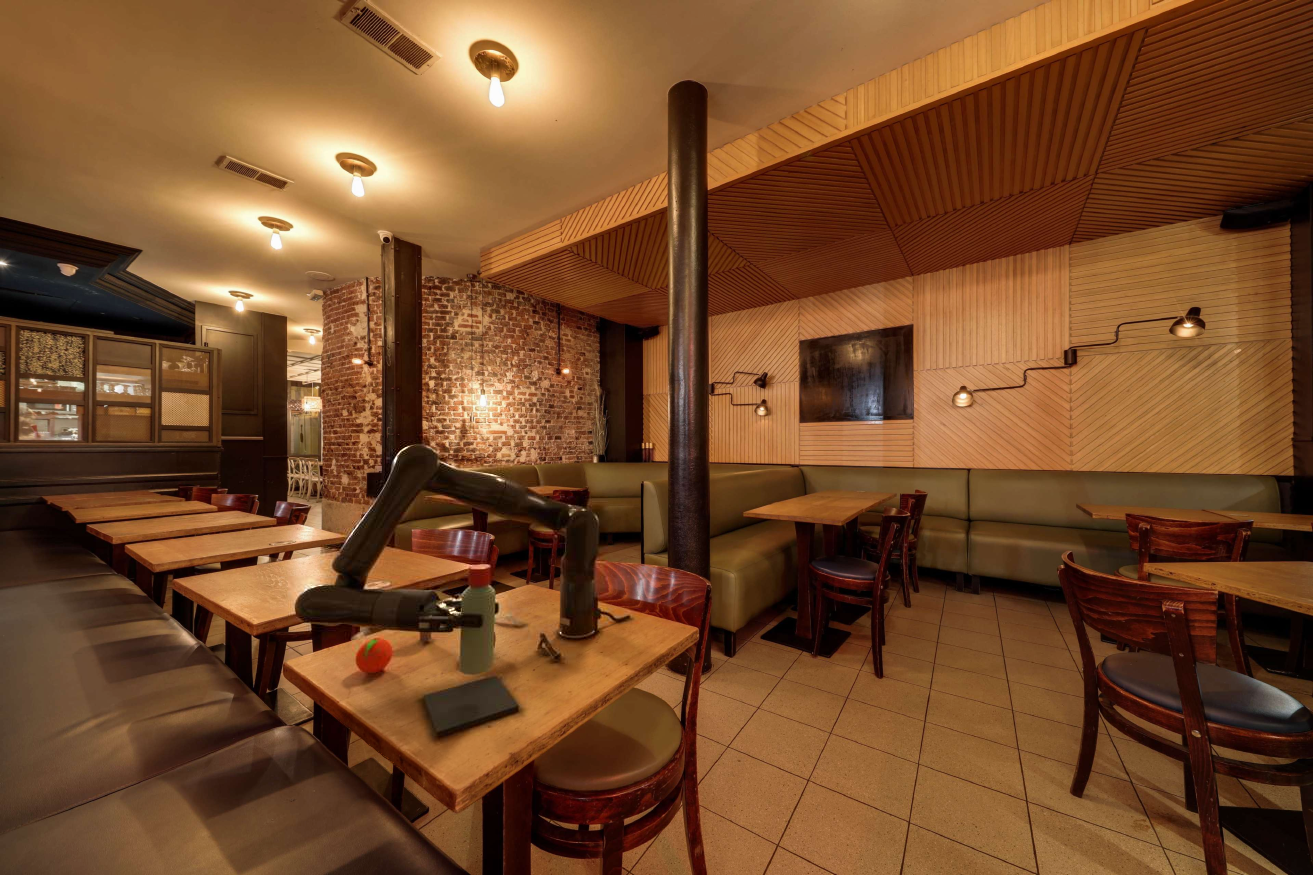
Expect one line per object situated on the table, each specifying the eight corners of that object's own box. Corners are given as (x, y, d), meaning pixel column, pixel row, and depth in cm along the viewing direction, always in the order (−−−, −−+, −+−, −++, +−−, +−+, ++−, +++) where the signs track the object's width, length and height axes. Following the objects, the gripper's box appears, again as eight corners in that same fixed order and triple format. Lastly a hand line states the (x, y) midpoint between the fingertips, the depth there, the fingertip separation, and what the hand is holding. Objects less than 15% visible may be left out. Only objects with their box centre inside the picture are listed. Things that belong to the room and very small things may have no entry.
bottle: (488, 656, 91) (491, 563, 92) (497, 669, 86) (500, 570, 87) (455, 664, 88) (459, 567, 88) (463, 677, 83) (467, 575, 83)
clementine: (382, 680, 96) (383, 646, 96) (346, 683, 94) (346, 648, 95) (397, 663, 103) (398, 631, 104) (364, 665, 102) (364, 633, 102)
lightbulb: (418, 636, 118) (419, 593, 118) (442, 636, 118) (443, 593, 118) (407, 647, 112) (408, 601, 112) (433, 646, 112) (434, 601, 112)
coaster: (496, 679, 97) (496, 674, 97) (518, 710, 85) (518, 705, 85) (422, 700, 88) (423, 695, 88) (436, 738, 77) (437, 732, 77)
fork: (464, 622, 133) (463, 613, 134) (525, 624, 127) (524, 613, 127) (457, 626, 131) (456, 616, 131) (519, 627, 124) (518, 617, 124)
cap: (486, 579, 90) (487, 563, 90) (492, 585, 87) (493, 567, 87) (466, 582, 88) (466, 565, 88) (471, 588, 85) (471, 570, 85)
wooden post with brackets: (540, 644, 112) (544, 629, 111) (556, 668, 107) (561, 652, 105) (533, 646, 110) (537, 631, 109) (550, 670, 105) (555, 655, 104)
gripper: (382, 602, 81) (473, 607, 80) (428, 579, 96) (506, 583, 94) (380, 645, 81) (472, 651, 80) (427, 615, 95) (505, 620, 94)
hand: (490, 614), depth 87 cm, fingers closed on bottle, 6 cm apart
